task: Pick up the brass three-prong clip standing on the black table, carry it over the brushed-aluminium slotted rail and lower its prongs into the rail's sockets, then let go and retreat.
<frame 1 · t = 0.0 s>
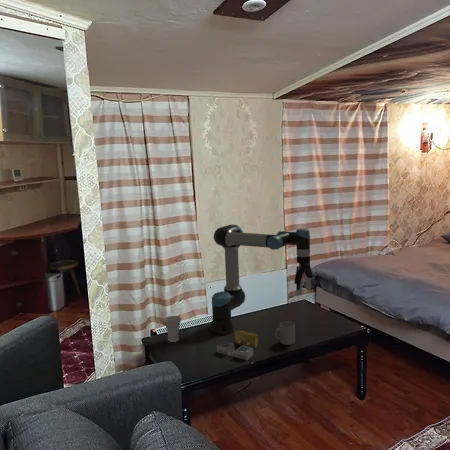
hand: (303, 291, 239), 28 cm above the table, fingers open, 13 cm apart
rail: (235, 353, 226), on the table
mug: (284, 343, 238), on the table
cup: (173, 341, 246), on the table
clip: (246, 344, 237), on the table
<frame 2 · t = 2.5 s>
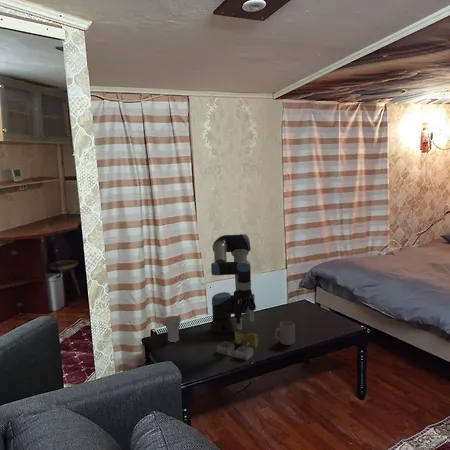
hand: (245, 325, 235), 12 cm above the table, fingers open, 13 cm apart
nothing on the table moved.
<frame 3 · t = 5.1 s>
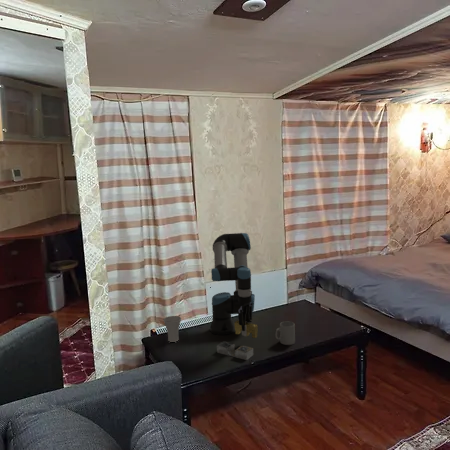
hand: (246, 334, 237), 6 cm above the table, fingers closed on clip, 3 cm apart
clip: (246, 335, 237), point 5 cm above the table, touching gripper
everything else where it was.
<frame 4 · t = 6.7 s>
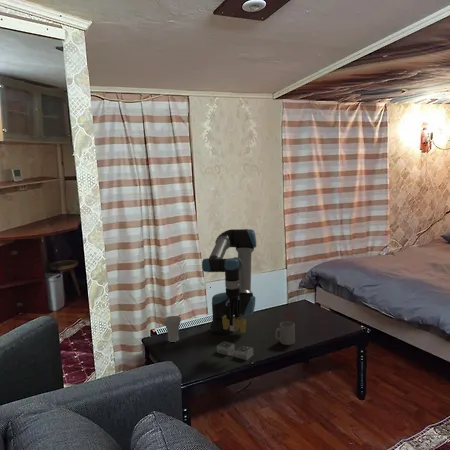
hand: (234, 329, 224), 14 cm above the table, fingers closed on clip, 3 cm apart
clip: (234, 330, 224), point 14 cm above the table, touching gripper
everything else where it was.
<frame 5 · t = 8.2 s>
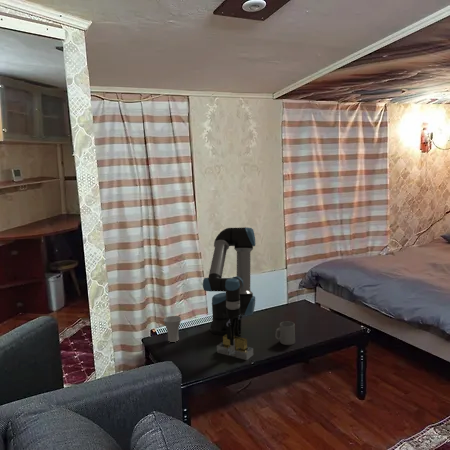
hand: (234, 349, 225), 3 cm above the table, fingers closed on clip, 3 cm apart
clip: (235, 349, 225), point 2 cm above the table, touching gripper
everything else where it was.
when the fingers open (2 cm above the table, at t = 8.6 s): clip stays where it is, resting on rail.
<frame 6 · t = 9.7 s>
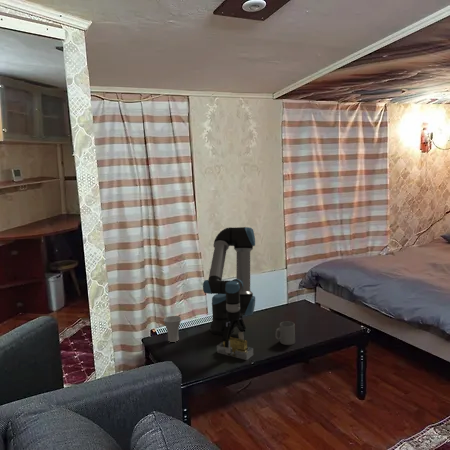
hand: (234, 347, 225), 4 cm above the table, fingers open, 13 cm apart
clip: (235, 351, 225), point 1 cm above the table, touching rail
everything else where it was.
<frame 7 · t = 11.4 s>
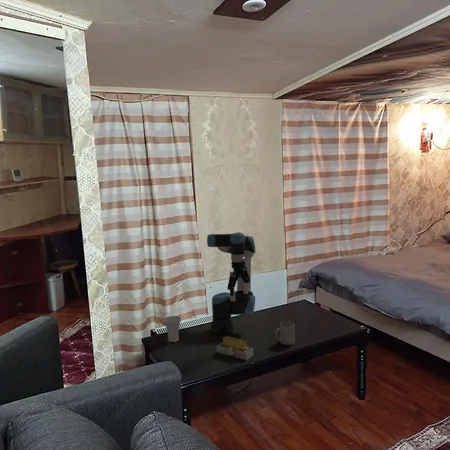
hand: (239, 297, 234), 28 cm above the table, fingers open, 13 cm apart
nothing on the table moved.
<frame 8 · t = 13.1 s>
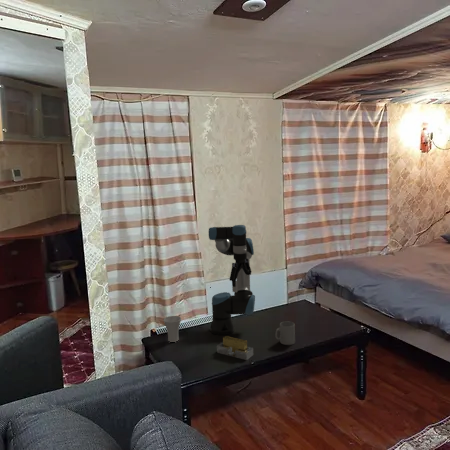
hand: (241, 288, 237), 32 cm above the table, fingers open, 13 cm apart
nothing on the table moved.
at the end: clip 0.4 cm off-centre on the rail, point 1.5 cm above the rail's base; clip tilted 0°; the gripper is holding nothing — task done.
